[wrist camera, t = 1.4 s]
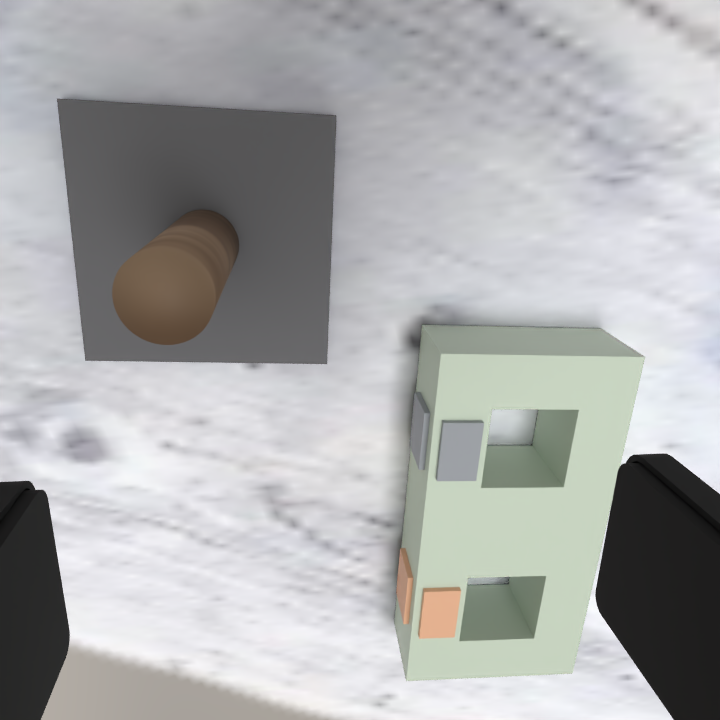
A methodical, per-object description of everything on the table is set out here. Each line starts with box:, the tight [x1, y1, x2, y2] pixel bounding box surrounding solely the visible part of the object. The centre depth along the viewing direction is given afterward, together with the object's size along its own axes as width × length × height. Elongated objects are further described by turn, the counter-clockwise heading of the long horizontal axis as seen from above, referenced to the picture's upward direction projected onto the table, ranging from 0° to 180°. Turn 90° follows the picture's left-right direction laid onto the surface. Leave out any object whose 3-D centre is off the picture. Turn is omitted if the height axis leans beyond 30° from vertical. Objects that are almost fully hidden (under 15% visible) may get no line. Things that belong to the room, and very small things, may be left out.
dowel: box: [112, 209, 239, 345], centre depth 24 cm, size 3×3×10 cm
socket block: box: [394, 325, 645, 681], centre depth 34 cm, size 20×10×5 cm, turn 177°
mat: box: [57, 99, 336, 364], centre depth 29 cm, size 12×12×1 cm
